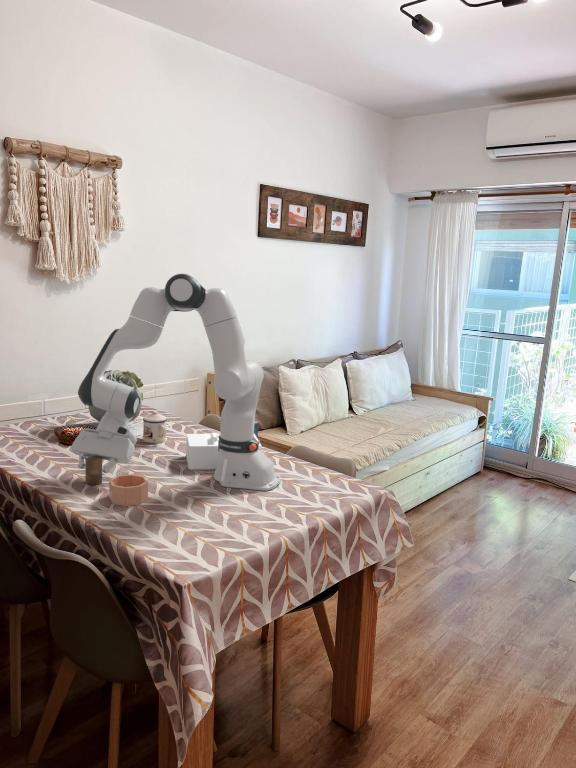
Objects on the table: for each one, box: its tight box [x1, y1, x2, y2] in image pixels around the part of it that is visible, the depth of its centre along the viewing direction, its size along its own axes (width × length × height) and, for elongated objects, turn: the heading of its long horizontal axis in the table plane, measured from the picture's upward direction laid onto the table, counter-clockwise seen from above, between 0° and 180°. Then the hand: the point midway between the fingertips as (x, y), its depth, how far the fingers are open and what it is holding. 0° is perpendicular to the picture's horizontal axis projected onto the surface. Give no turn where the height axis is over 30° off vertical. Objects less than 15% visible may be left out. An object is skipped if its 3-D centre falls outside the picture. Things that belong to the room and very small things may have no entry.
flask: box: [254, 420, 259, 440], centre depth 232 cm, size 9×3×11 cm, turn 144°
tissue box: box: [185, 432, 262, 470], centre depth 210 cm, size 14×25×11 cm, turn 103°
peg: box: [84, 456, 103, 487], centre depth 184 cm, size 5×5×8 cm
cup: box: [108, 473, 149, 507], centre depth 174 cm, size 10×10×6 cm
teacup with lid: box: [142, 410, 167, 444], centre depth 229 cm, size 12×9×12 cm
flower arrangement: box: [88, 369, 144, 423], centre depth 242 cm, size 25×25×24 cm
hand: (92, 470), depth 183 cm, fingers open, 7 cm apart
